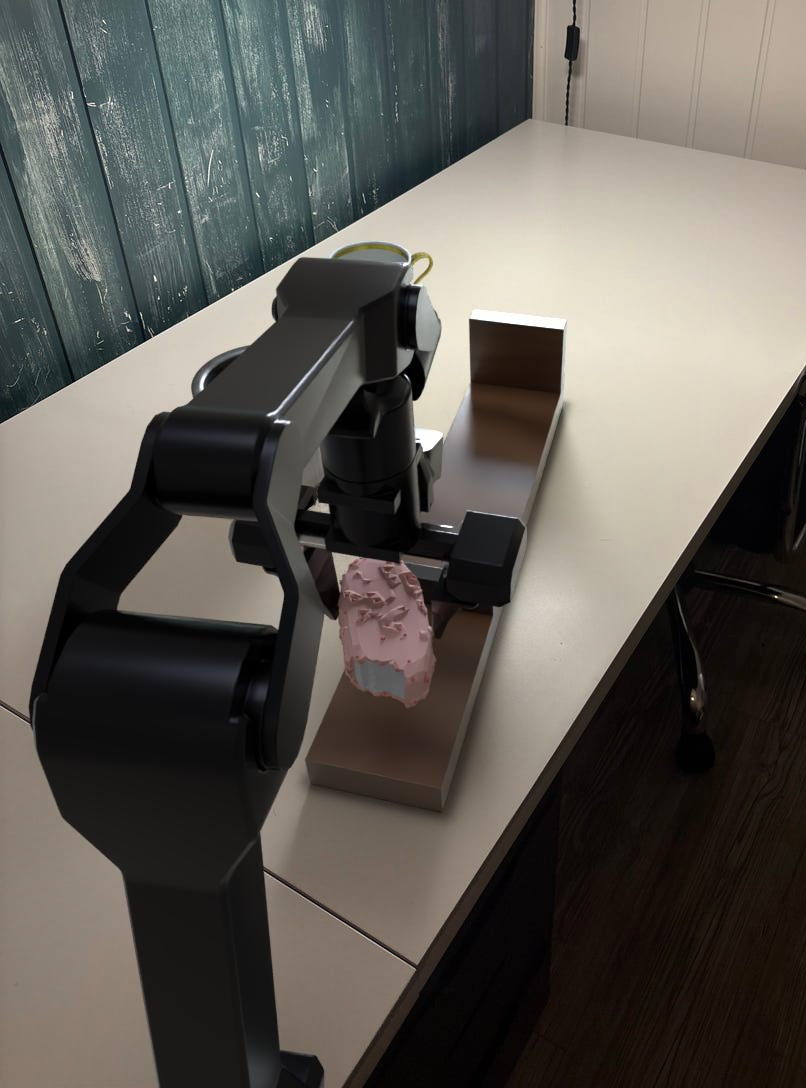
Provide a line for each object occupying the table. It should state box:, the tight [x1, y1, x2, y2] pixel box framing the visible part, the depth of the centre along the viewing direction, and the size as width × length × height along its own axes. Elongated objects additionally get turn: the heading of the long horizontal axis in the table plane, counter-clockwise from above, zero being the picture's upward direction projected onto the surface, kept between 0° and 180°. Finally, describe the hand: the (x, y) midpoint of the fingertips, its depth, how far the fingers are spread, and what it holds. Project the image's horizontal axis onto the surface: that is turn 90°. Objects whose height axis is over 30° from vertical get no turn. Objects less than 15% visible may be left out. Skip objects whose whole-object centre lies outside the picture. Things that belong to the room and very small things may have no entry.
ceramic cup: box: [327, 240, 434, 284], centre depth 115 cm, size 13×10×10 cm
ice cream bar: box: [337, 557, 436, 708], centre depth 66 cm, size 6×4×15 cm
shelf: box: [304, 309, 568, 813], centre depth 83 cm, size 50×10×11 cm, turn 166°
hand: (388, 624), depth 67 cm, fingers closed on ice cream bar, 7 cm apart
